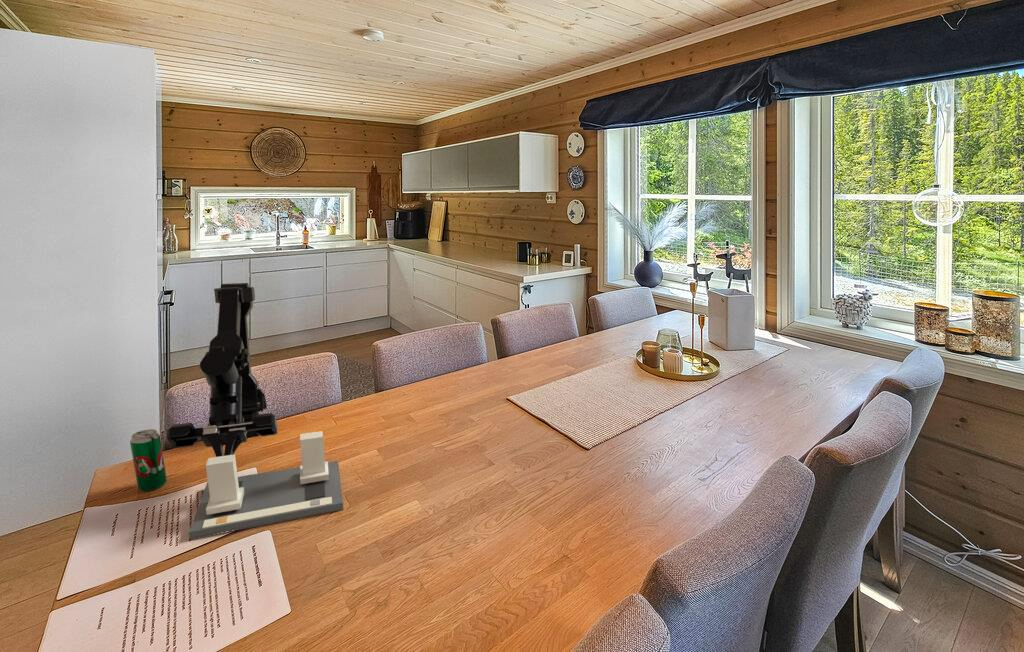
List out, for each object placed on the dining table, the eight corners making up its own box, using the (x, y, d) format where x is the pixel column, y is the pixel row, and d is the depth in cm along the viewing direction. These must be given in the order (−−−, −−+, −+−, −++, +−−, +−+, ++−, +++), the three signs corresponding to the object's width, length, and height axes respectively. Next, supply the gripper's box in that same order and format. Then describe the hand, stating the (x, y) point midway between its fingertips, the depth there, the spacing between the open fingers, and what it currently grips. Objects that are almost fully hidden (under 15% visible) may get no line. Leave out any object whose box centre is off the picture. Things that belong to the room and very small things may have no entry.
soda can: (159, 477, 108) (151, 426, 105) (172, 483, 106) (164, 431, 103) (133, 488, 104) (123, 435, 101) (146, 495, 101) (137, 441, 99)
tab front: (212, 497, 97) (206, 455, 95) (244, 492, 99) (239, 450, 97) (206, 514, 92) (200, 469, 90) (240, 508, 94) (235, 464, 92)
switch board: (208, 488, 104) (207, 480, 104) (338, 466, 114) (337, 459, 113) (190, 539, 88) (188, 530, 88) (343, 509, 98) (342, 501, 97)
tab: (300, 470, 108) (297, 431, 106) (328, 466, 110) (325, 427, 108) (300, 484, 102) (296, 443, 100) (329, 479, 104) (326, 439, 102)
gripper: (279, 408, 113) (280, 475, 106) (183, 419, 106) (178, 492, 99) (273, 386, 104) (275, 458, 97) (169, 397, 97) (162, 475, 90)
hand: (224, 471), depth 96 cm, fingers closed, pressing on tab front
